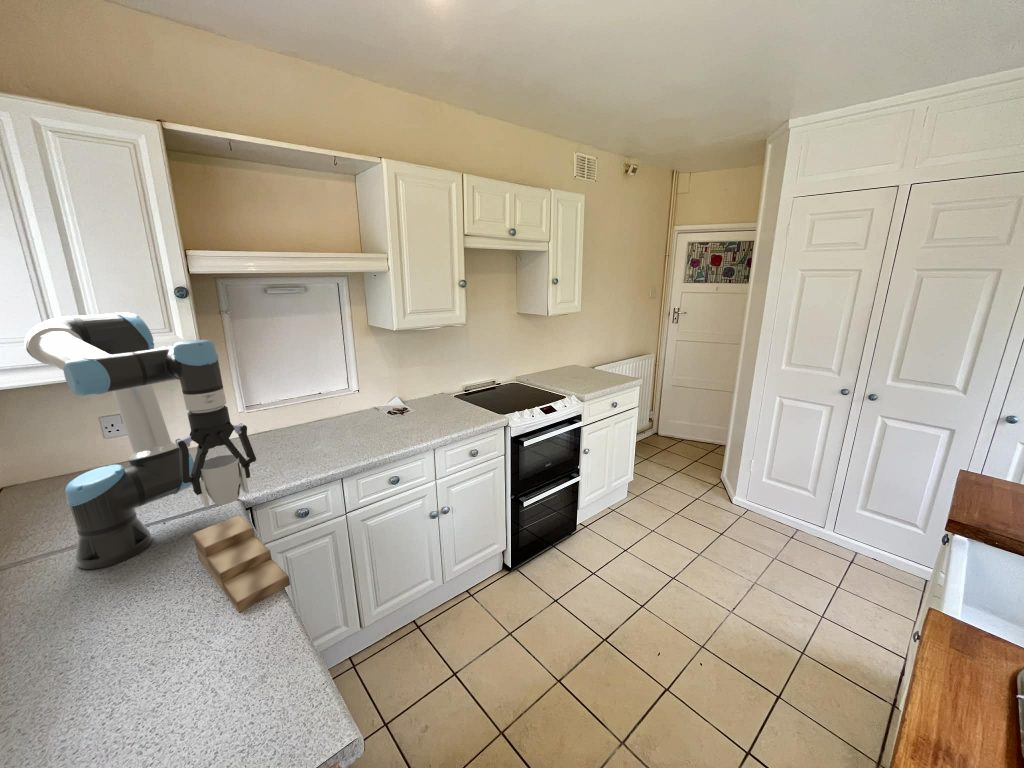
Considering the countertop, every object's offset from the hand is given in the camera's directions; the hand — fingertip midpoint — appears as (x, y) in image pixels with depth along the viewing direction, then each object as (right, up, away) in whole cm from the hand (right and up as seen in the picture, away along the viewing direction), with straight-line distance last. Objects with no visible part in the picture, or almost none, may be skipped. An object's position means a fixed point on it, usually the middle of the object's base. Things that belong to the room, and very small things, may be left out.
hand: (226, 497), depth 101 cm
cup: (0, -1, 0) cm, 1 cm away
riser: (+1, -20, +5) cm, 21 cm away
